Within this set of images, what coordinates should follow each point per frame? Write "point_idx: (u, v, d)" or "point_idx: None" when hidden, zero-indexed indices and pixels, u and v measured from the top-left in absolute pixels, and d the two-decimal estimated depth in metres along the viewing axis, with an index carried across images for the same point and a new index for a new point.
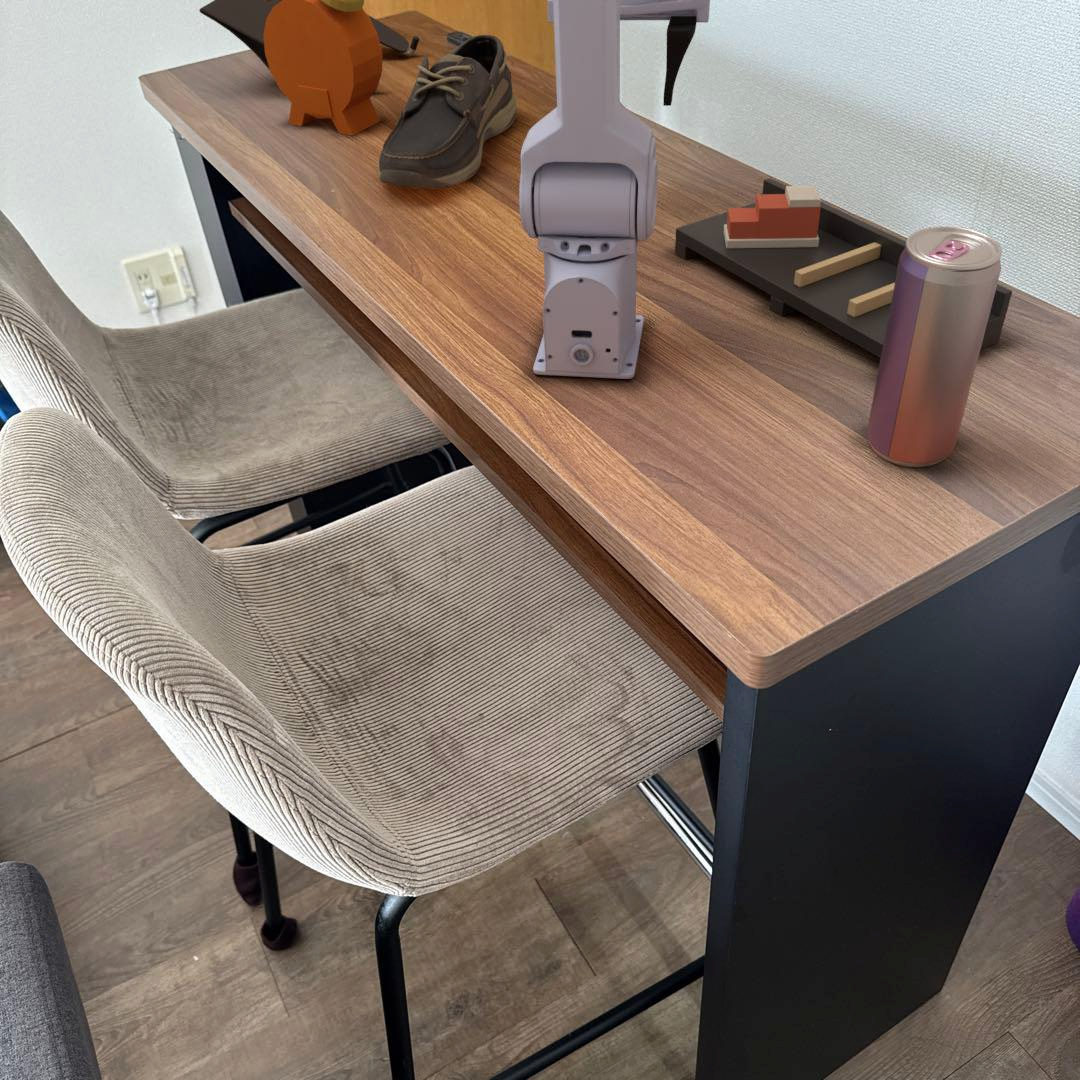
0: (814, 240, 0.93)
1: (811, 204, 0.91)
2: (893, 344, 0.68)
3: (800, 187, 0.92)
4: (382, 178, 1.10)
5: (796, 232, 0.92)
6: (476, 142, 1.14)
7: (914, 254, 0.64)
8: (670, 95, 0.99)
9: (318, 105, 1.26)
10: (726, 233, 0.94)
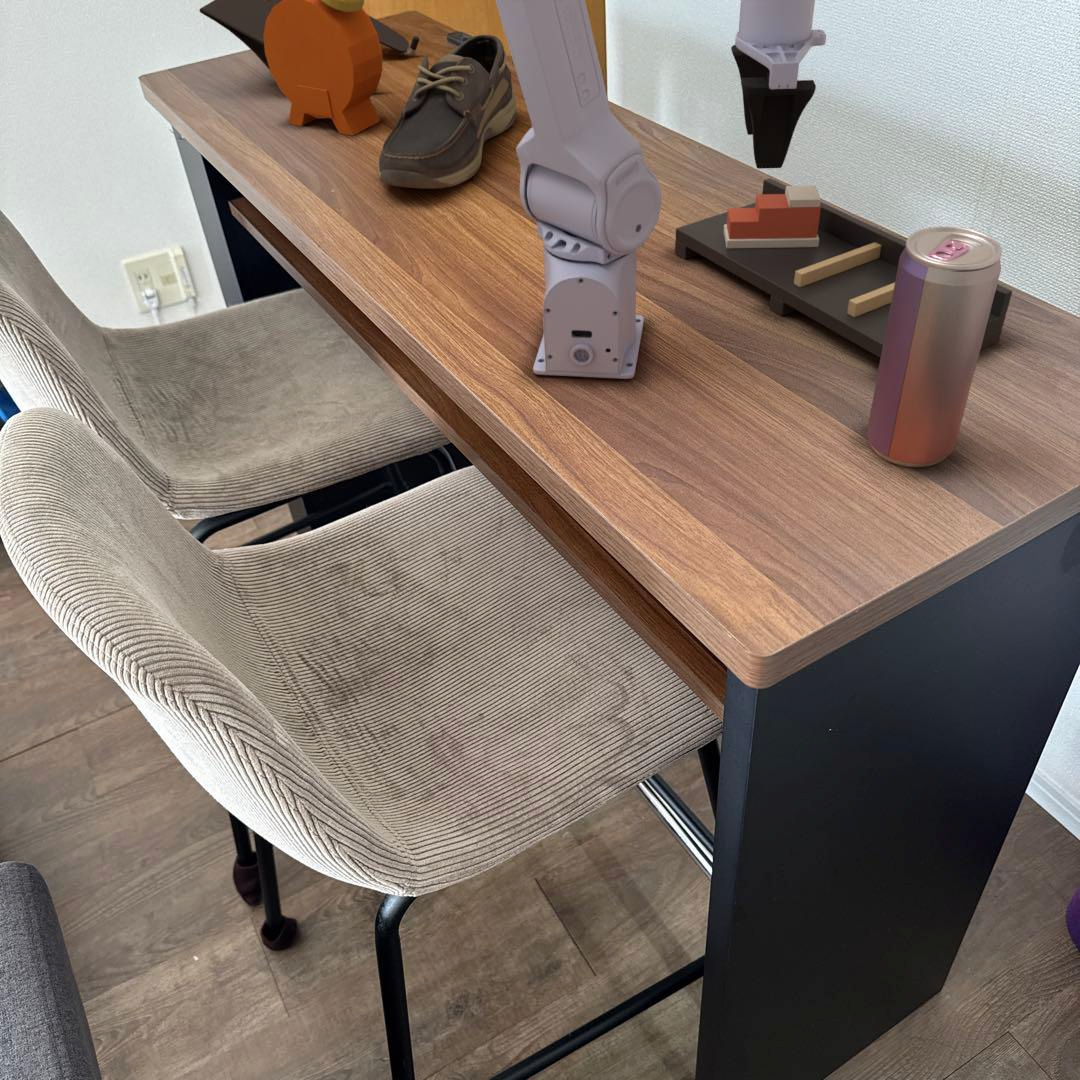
0: (814, 240, 0.93)
1: (811, 204, 0.91)
2: (893, 344, 0.68)
3: (800, 187, 0.92)
4: (382, 178, 1.10)
5: (796, 232, 0.92)
6: (476, 142, 1.14)
7: (914, 254, 0.64)
8: (754, 156, 0.87)
9: (318, 105, 1.26)
10: (726, 233, 0.94)
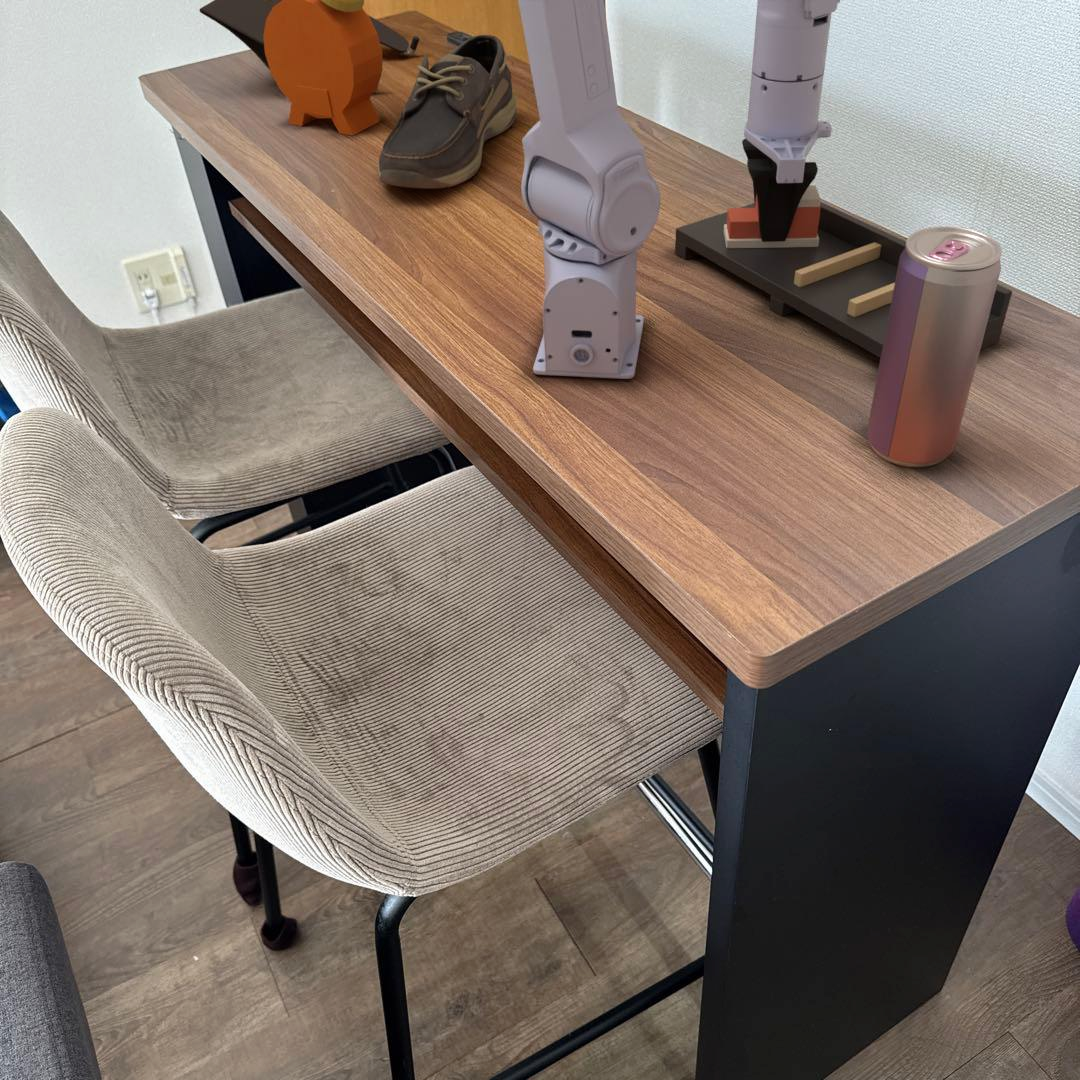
0: (814, 240, 0.93)
1: (811, 204, 0.91)
2: (893, 344, 0.68)
3: None
4: (382, 178, 1.10)
5: (796, 232, 0.92)
6: (476, 142, 1.14)
7: (914, 254, 0.64)
8: (760, 230, 0.92)
9: (318, 105, 1.26)
10: (726, 233, 0.94)
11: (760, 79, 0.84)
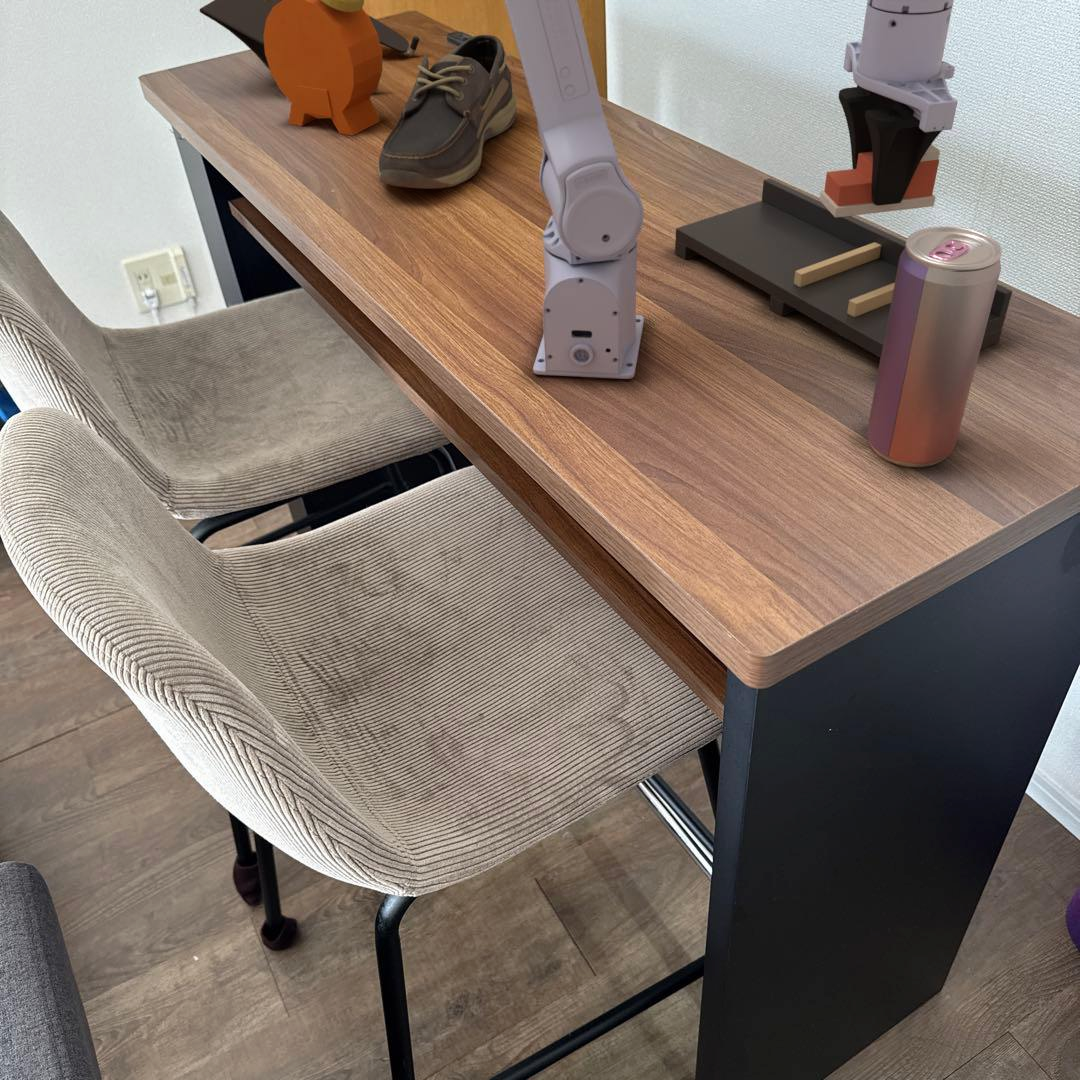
0: (930, 198, 0.81)
1: (930, 157, 0.79)
2: (893, 344, 0.68)
3: None
4: (382, 178, 1.10)
5: (911, 191, 0.81)
6: (476, 142, 1.14)
7: (914, 254, 0.64)
8: (874, 192, 0.80)
9: (318, 105, 1.26)
10: (830, 200, 0.82)
11: (887, 14, 0.72)
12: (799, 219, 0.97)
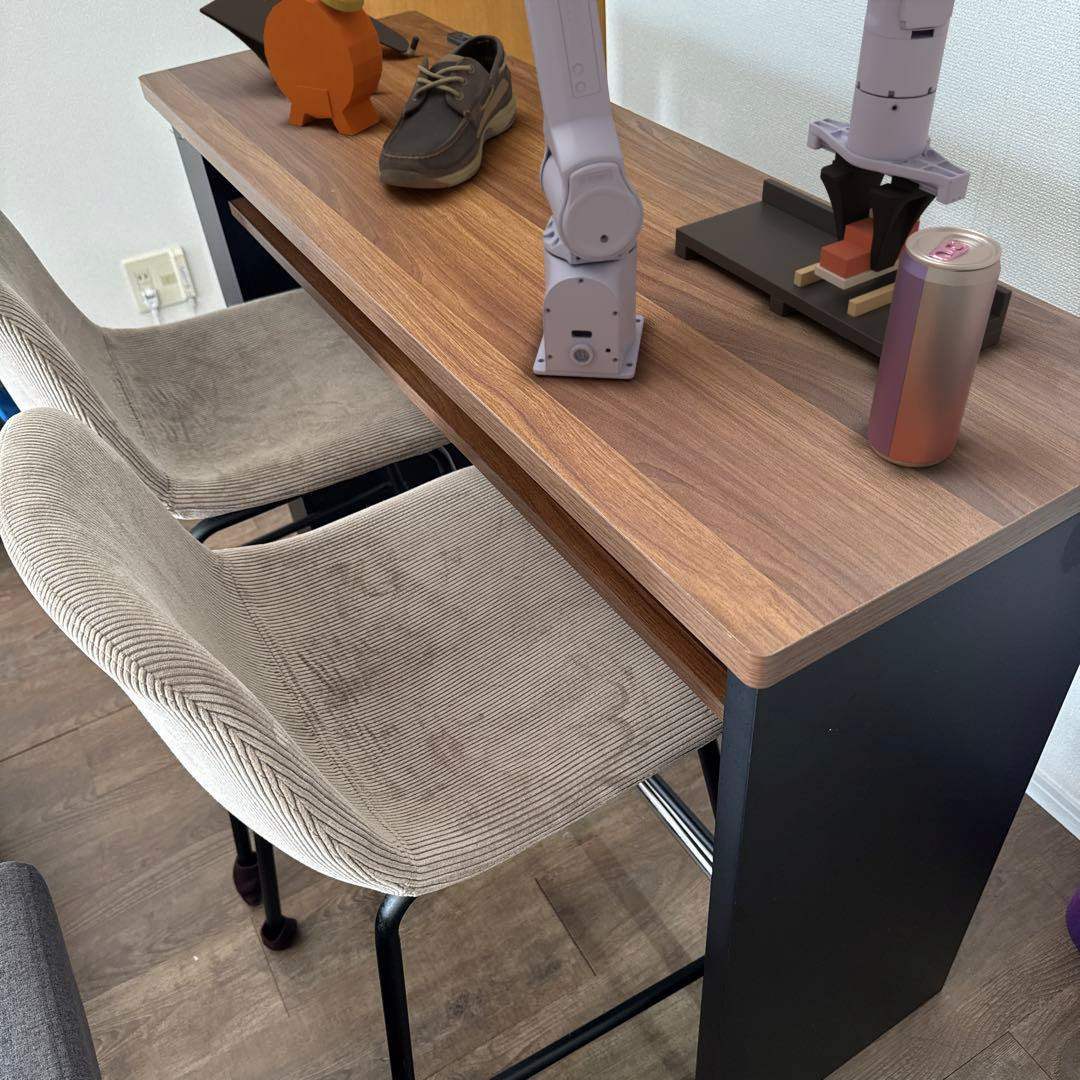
0: None
1: None
2: (893, 344, 0.68)
3: None
4: (382, 178, 1.10)
5: None
6: (476, 142, 1.14)
7: (914, 254, 0.64)
8: (876, 261, 0.83)
9: (318, 105, 1.26)
10: (832, 274, 0.84)
11: (889, 99, 0.75)
12: (799, 219, 0.97)
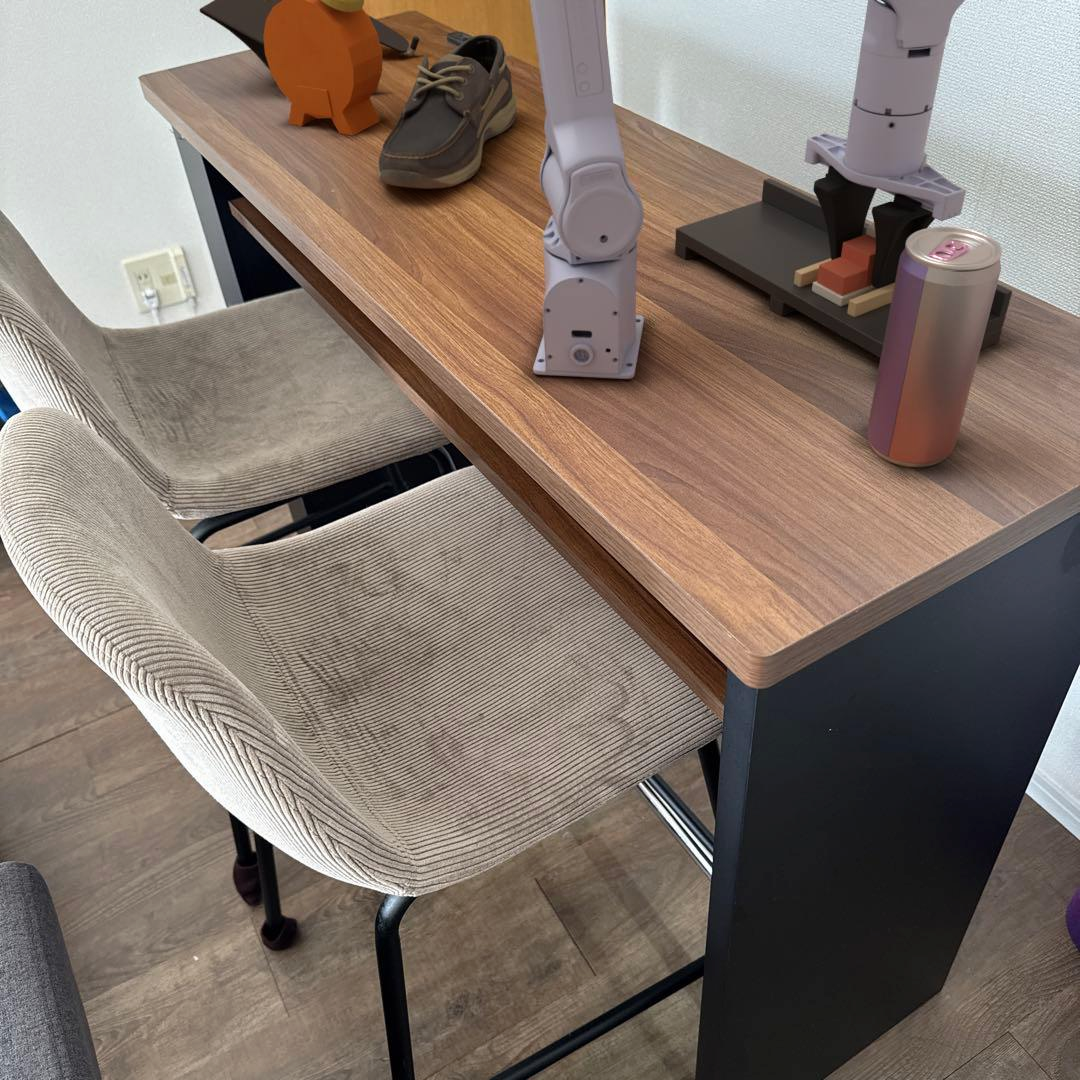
0: None
1: None
2: (893, 344, 0.68)
3: None
4: (382, 178, 1.10)
5: None
6: (476, 142, 1.14)
7: (914, 254, 0.64)
8: (878, 278, 0.84)
9: (318, 105, 1.26)
10: (829, 291, 0.85)
11: (886, 117, 0.76)
12: (799, 219, 0.97)
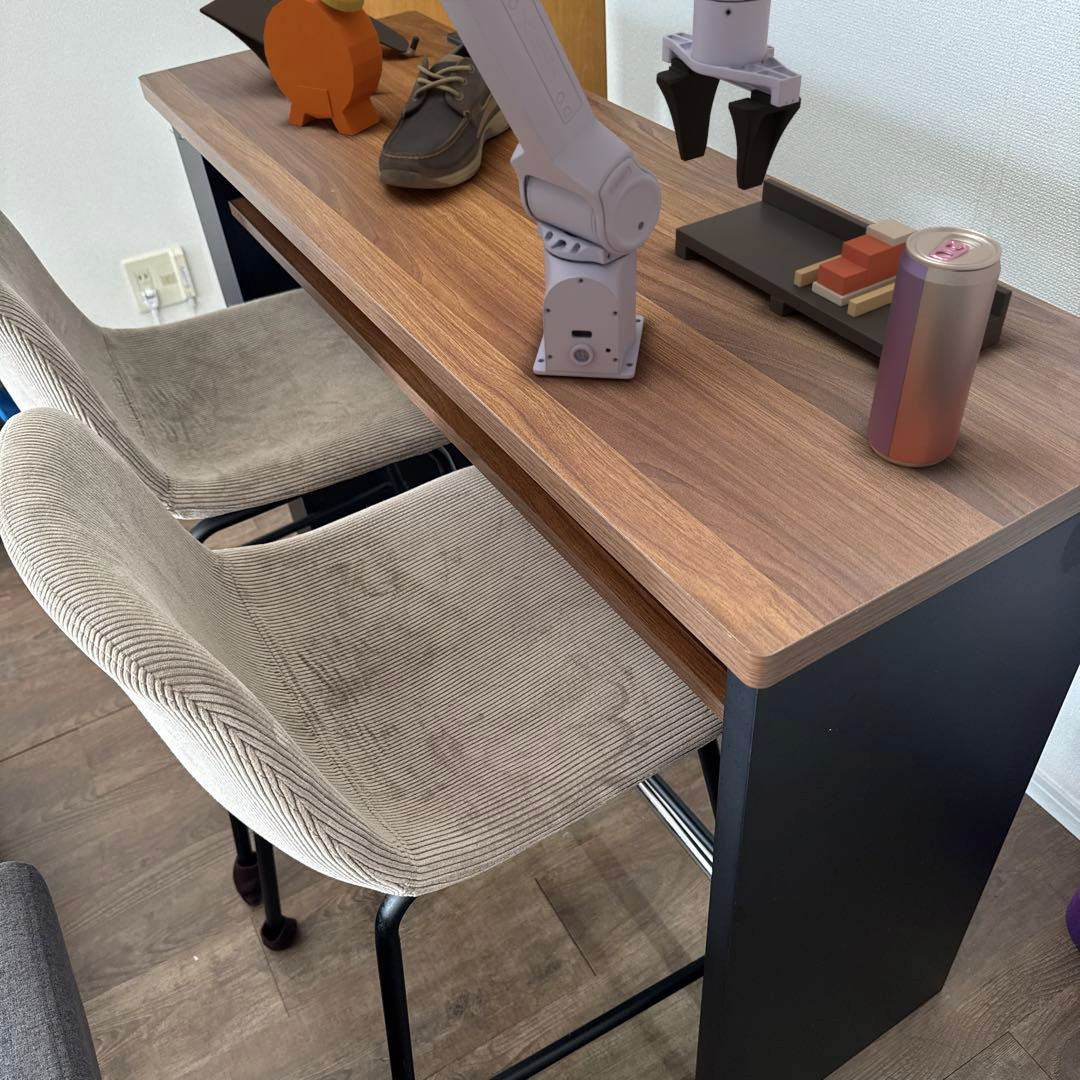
0: None
1: None
2: (893, 344, 0.68)
3: (881, 223, 0.86)
4: (382, 178, 1.10)
5: (895, 270, 0.86)
6: (476, 142, 1.14)
7: (914, 254, 0.64)
8: (741, 178, 0.84)
9: (318, 105, 1.26)
10: (829, 291, 0.85)
11: (722, 3, 0.77)
12: (799, 219, 0.97)
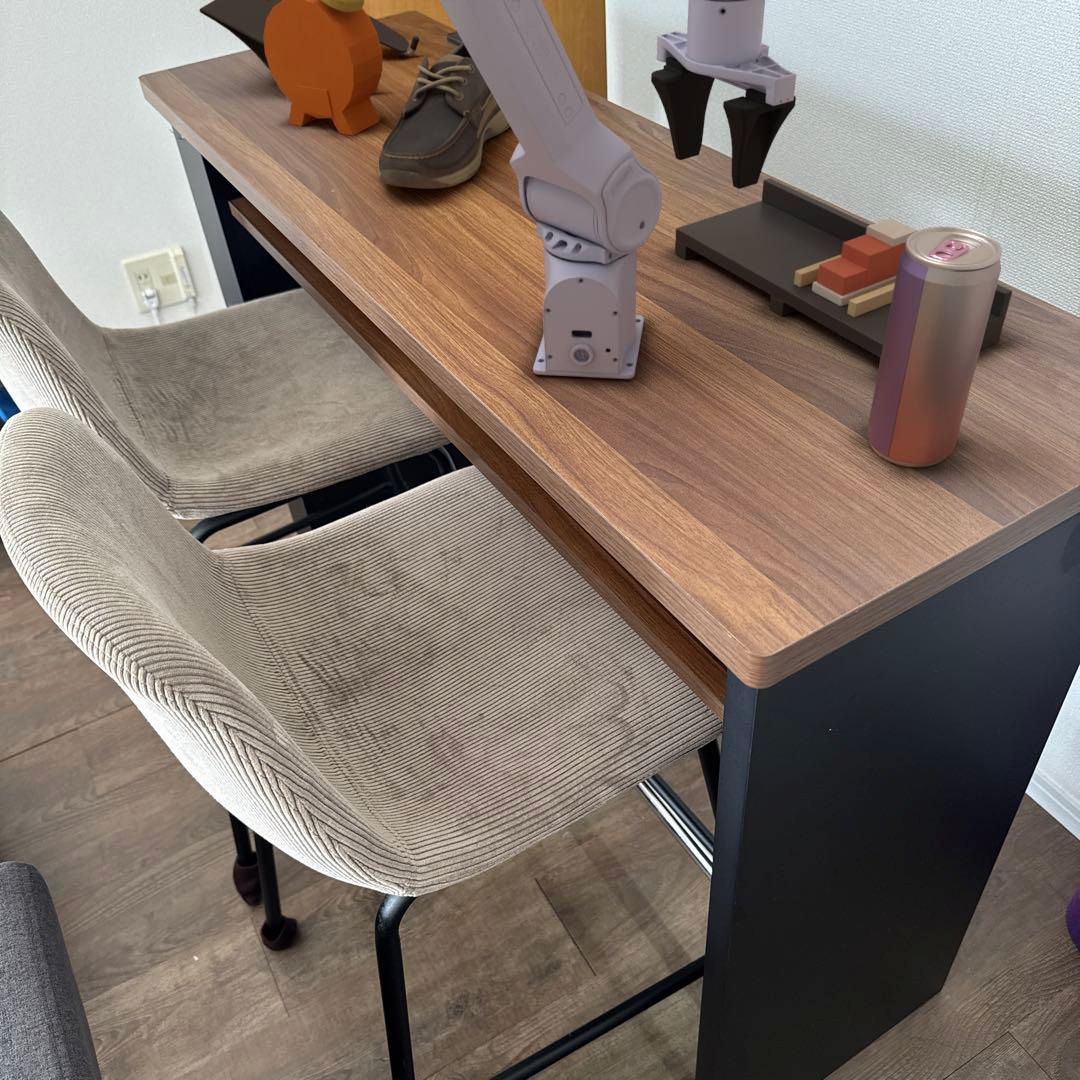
0: None
1: None
2: (893, 344, 0.68)
3: (881, 223, 0.86)
4: (382, 178, 1.10)
5: (895, 270, 0.86)
6: (476, 142, 1.14)
7: (914, 254, 0.64)
8: (737, 177, 0.84)
9: (318, 105, 1.26)
10: (829, 291, 0.85)
11: (716, 2, 0.77)
12: (799, 219, 0.97)
